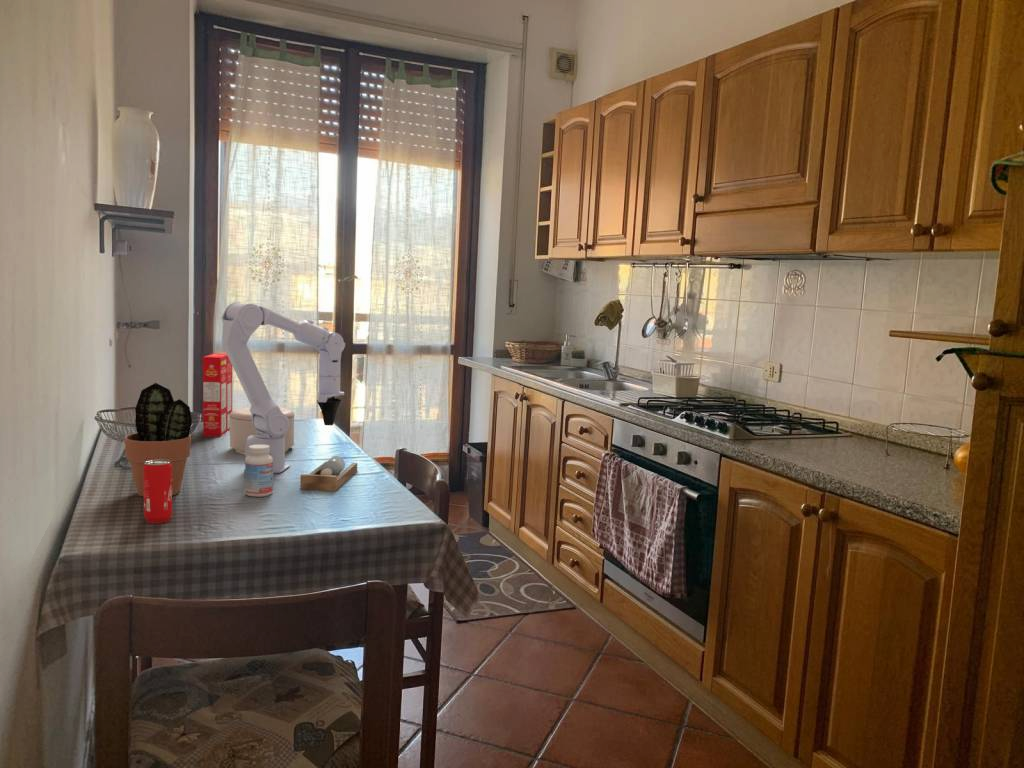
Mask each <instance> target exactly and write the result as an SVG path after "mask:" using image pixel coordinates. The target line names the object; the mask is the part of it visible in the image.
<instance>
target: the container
mask: <svg viewBox="0 0 1024 768" xmlns="http://www.w3.org/2000/svg"><path fill="white" fill-rule="evenodd" d="M250 408H251V406H246V407H239V408H236V409H235V408H234V409H232V412H231V413H230V430H229V447H230V448H232V449H235V452H236V453H238V454H242V455H245V447H246V441H247V438H248V437H249V436H251V435H256V429H255V428H254V427H253V425H252V415H251V412H250ZM279 408H280V410H281V412H282V413H283V414H285V415H286V416H287V417H288V419H289V423H290V425H289V429H288V431H287V432H286V433H285V453H286V452H288V451H289V449H290V448H291V447H294V445H295V412H294V411H293V410H292V409H290V408H287V407H281V406H279Z"/></svg>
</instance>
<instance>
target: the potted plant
mask: <svg viewBox="0 0 1024 768" xmlns="http://www.w3.org/2000/svg"><path fill="white" fill-rule="evenodd" d="M140 391H141V392H140V394H139V398H138V400H137V402H136V405H135V431H136V432H134V433H129V434H127V435H125V436H124V449H125V459H126V460H128V461H129V464H130V469H131V472H132V477H133V480H134V486H135V489H136V492H137V495H138V496H140V497H142V496H143V498H144V485H143V466H144V465H145V462H146V461H149V460H156V459H164V460H169V461H170V463H171V465H172V496H175V495H177V494H179V493H180V492H181V488H182V485H183V484H182V483H183V479H184V473H185V468H186V463H187V459H188V458H190V457H191V456H190V455H191V442H192V434H190V433H191V427H192V422H193V419H192V414H191V413H192V412H191V407H190V406H189V405H188V404H186V402H184V401H183V400H182V399H180V398H179V399H177V400H174V398H173V395H172V392H171V390H170V389H169V388H167V387H165V386H163V385H161V384H159V383H156V382H155V383H152V384H150V385H149V386H147V387H145V388H143V389H142V390H140Z"/></svg>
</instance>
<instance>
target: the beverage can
mask: <svg viewBox="0 0 1024 768" xmlns="http://www.w3.org/2000/svg"><path fill="white" fill-rule="evenodd" d="M143 485H144V497H143V517H144V519H145V520H146V523H148V524H163V522H164V523H168V522H170V521H171V518H172V516H173V495H172V465H171V463H170V461H169V460H164V459H156V460H149V461H146V462H145V465H144V466H143Z"/></svg>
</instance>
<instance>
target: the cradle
mask: <svg viewBox="0 0 1024 768" xmlns="http://www.w3.org/2000/svg"><path fill="white" fill-rule="evenodd" d="M327 461H328V460H327ZM327 461H325V462H323V463H322V464H320V465H319V466H318V467H316V468H315V469H314V470H313V471H311V472H310V473H301V474H300V485H299V486H300V489H299V490H301V491H305V490H306V491H322V492H337V490H339V489H340V488H341V487H342V486H343V485H344V484H345V483H346V482H347V481H348V480H349V479H350V478H351V477H353V476H354V475H355V474H356V473H357V472H358V462H352V463H351V464H350V465H348V466H347V467H345V468H344V469H343V471H342V472H341V473H340V474H339V475H338V476H334V475H321V468H322V466H323V465H324V464H325V463H326V462H327Z"/></svg>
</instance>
